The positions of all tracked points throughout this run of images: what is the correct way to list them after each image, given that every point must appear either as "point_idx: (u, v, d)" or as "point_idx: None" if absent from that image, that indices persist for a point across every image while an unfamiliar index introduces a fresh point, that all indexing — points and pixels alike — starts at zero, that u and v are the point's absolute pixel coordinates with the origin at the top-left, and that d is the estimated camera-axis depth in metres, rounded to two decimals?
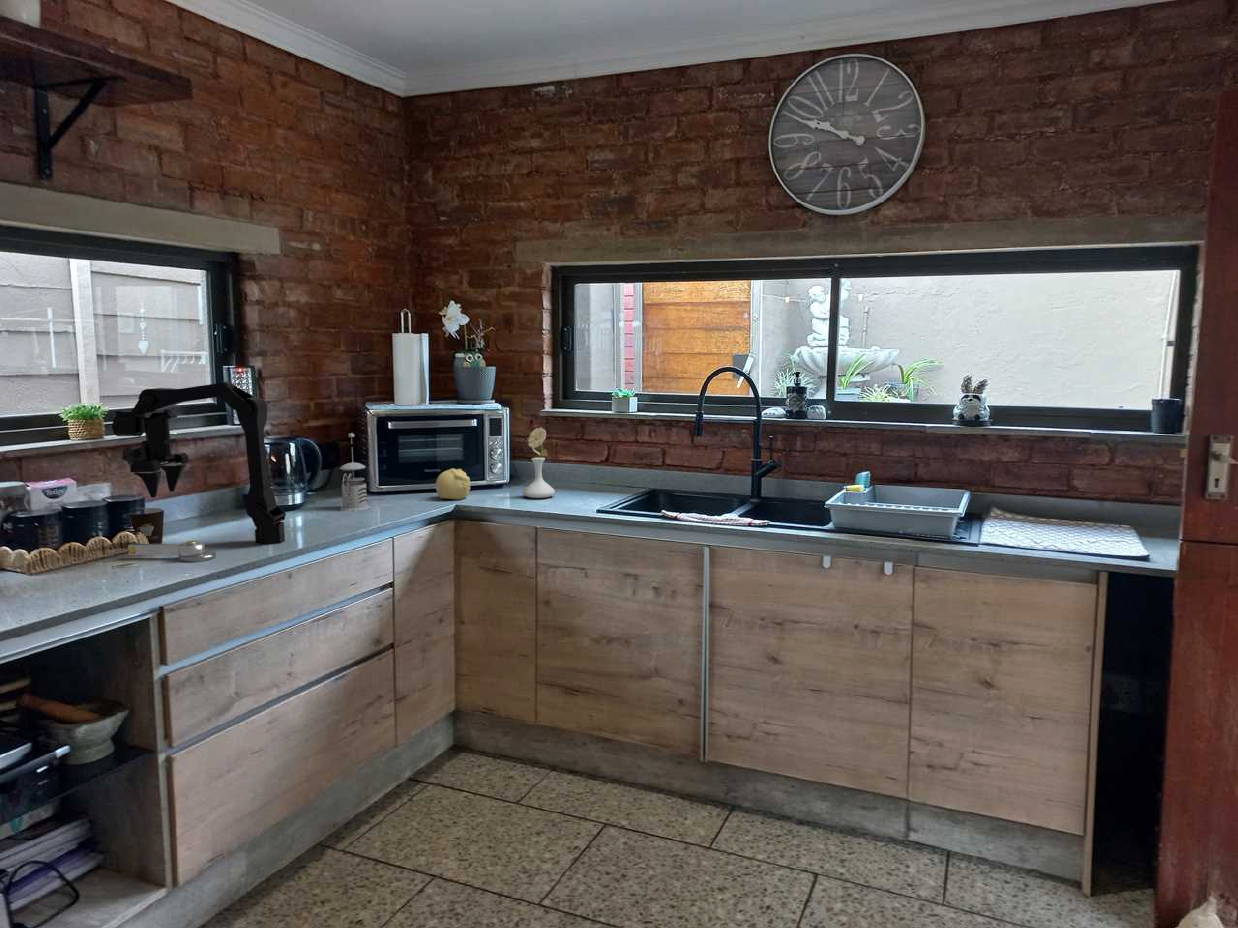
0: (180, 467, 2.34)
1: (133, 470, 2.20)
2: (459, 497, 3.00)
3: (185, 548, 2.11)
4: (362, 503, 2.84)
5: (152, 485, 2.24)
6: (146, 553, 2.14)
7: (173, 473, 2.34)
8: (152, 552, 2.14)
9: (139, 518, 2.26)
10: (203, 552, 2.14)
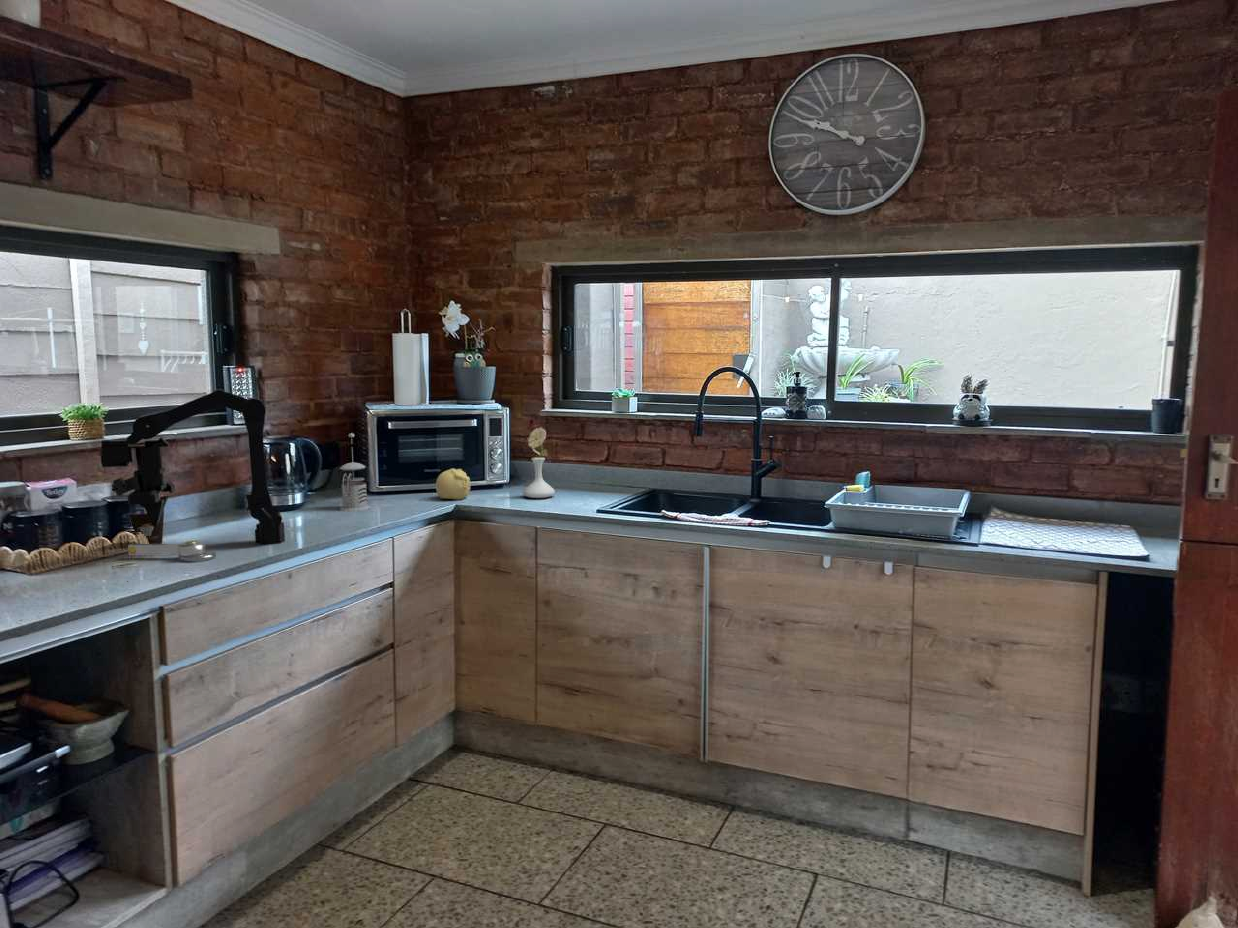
0: (164, 499, 2.21)
1: (132, 502, 2.10)
2: (459, 497, 3.00)
3: (185, 548, 2.11)
4: (362, 503, 2.84)
5: (155, 513, 2.19)
6: (146, 553, 2.14)
7: None
8: (152, 552, 2.14)
9: (139, 518, 2.26)
10: (203, 552, 2.14)
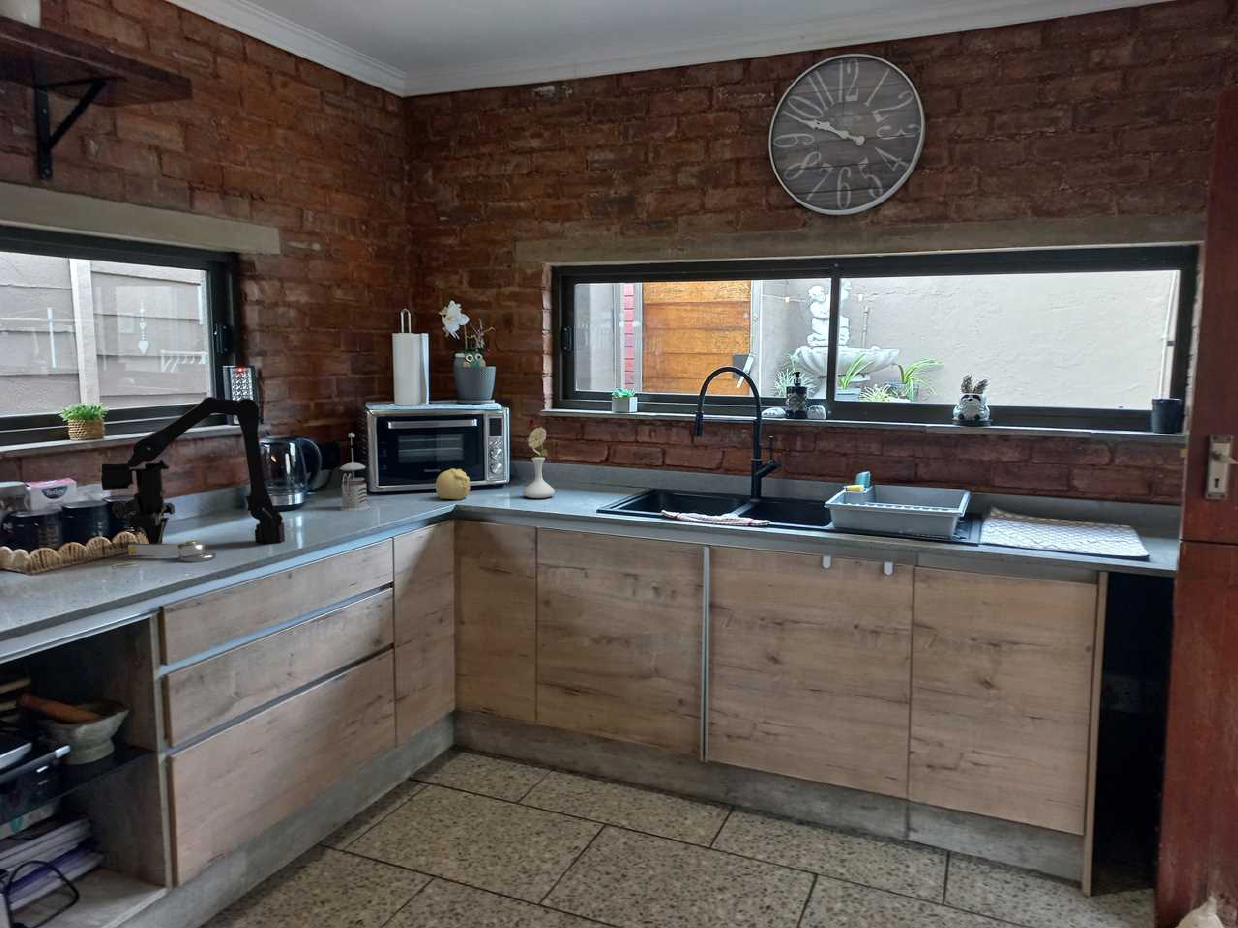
0: (164, 521, 2.20)
1: (132, 525, 2.09)
2: (459, 497, 3.00)
3: (185, 548, 2.11)
4: (362, 503, 2.84)
5: (155, 536, 2.18)
6: (146, 553, 2.14)
7: None
8: (152, 552, 2.14)
9: None
10: (203, 552, 2.14)
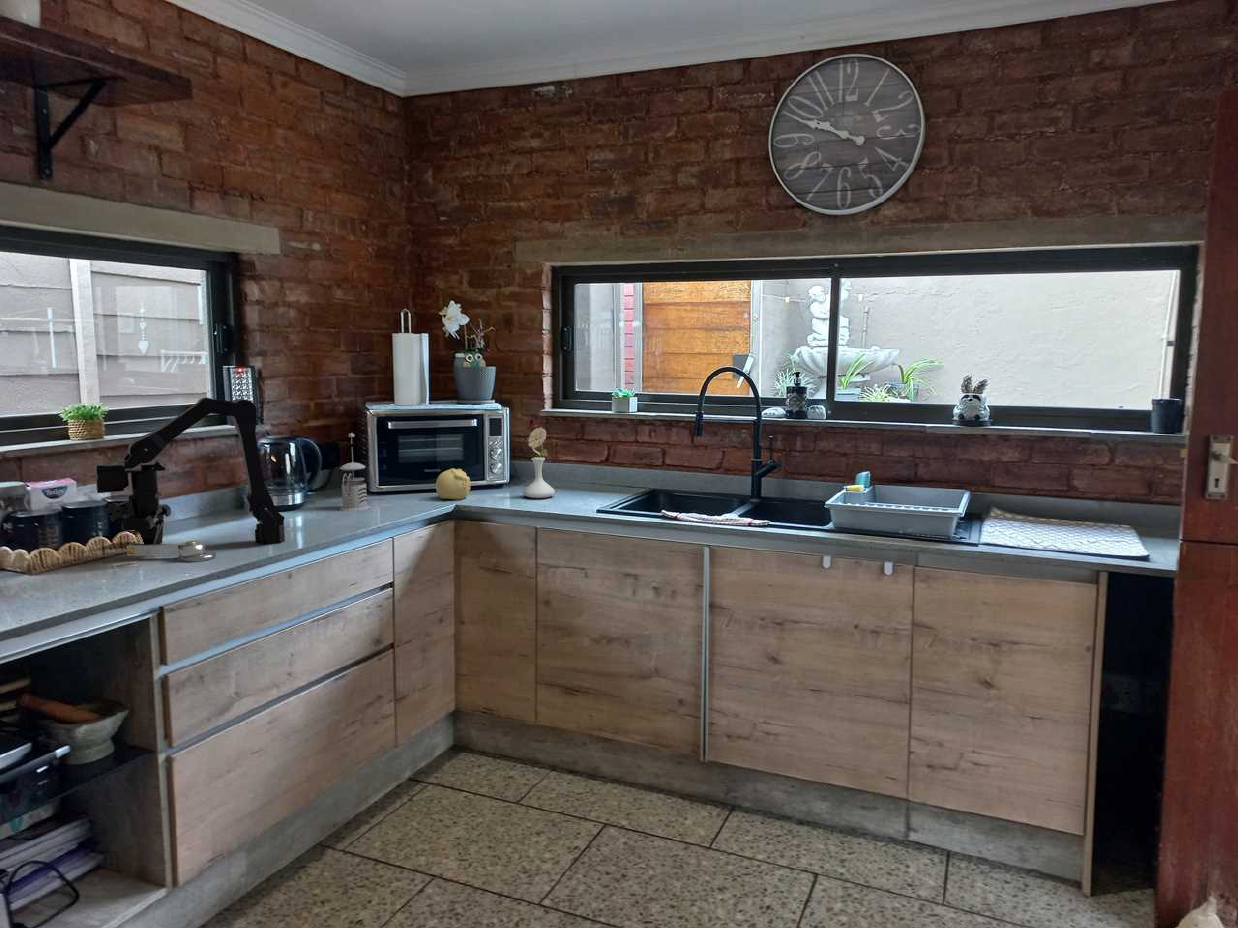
0: (160, 524, 2.17)
1: (126, 528, 2.06)
2: (459, 497, 3.00)
3: (186, 548, 2.11)
4: (362, 503, 2.84)
5: (150, 538, 2.15)
6: (145, 553, 2.14)
7: None
8: (151, 553, 2.14)
9: None
10: (203, 552, 2.15)
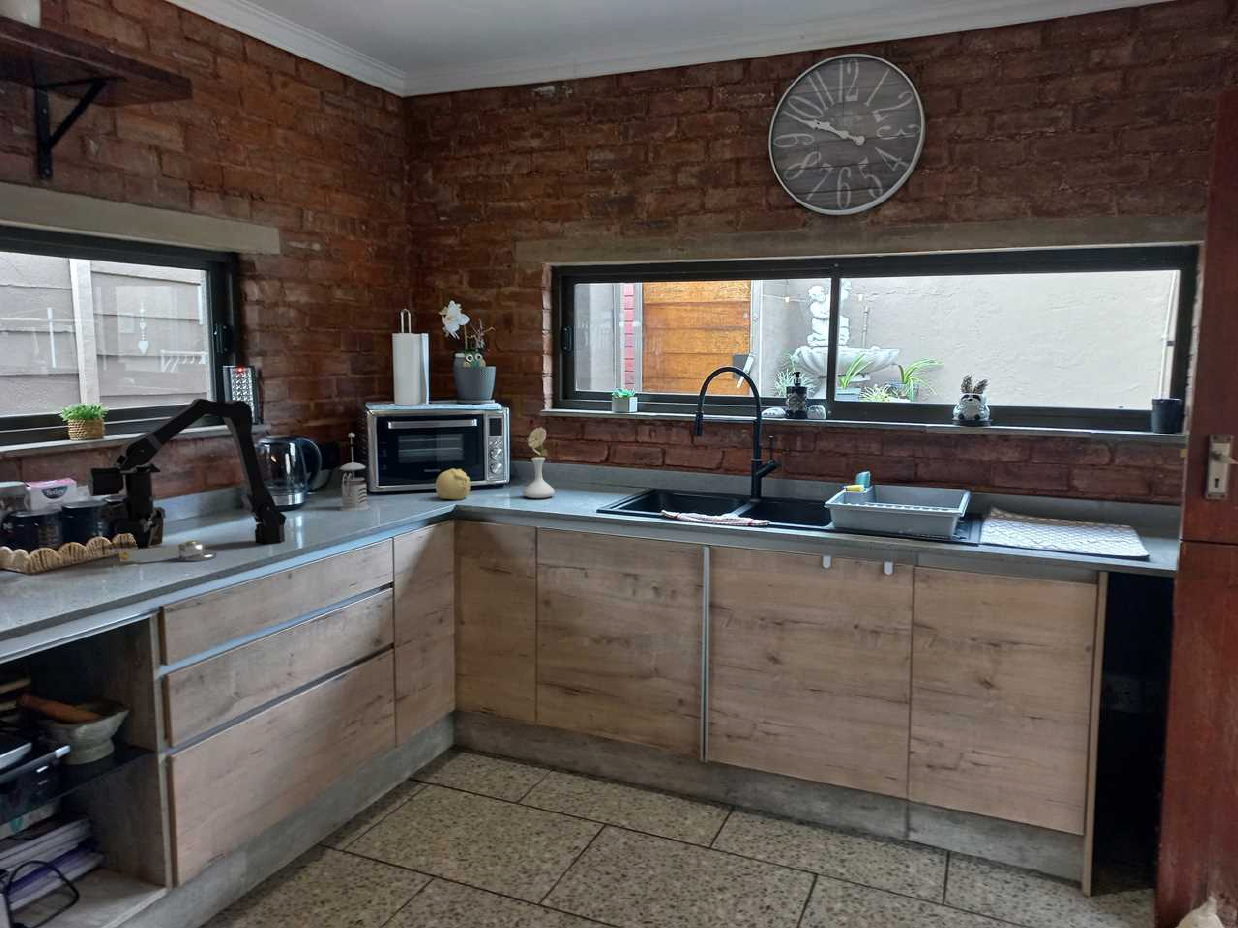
0: (154, 527, 2.12)
1: (119, 532, 2.02)
2: (459, 497, 3.00)
3: (191, 548, 2.12)
4: (362, 503, 2.84)
5: (144, 542, 2.11)
6: (141, 558, 2.10)
7: None
8: (148, 556, 2.10)
9: None
10: (205, 551, 2.16)
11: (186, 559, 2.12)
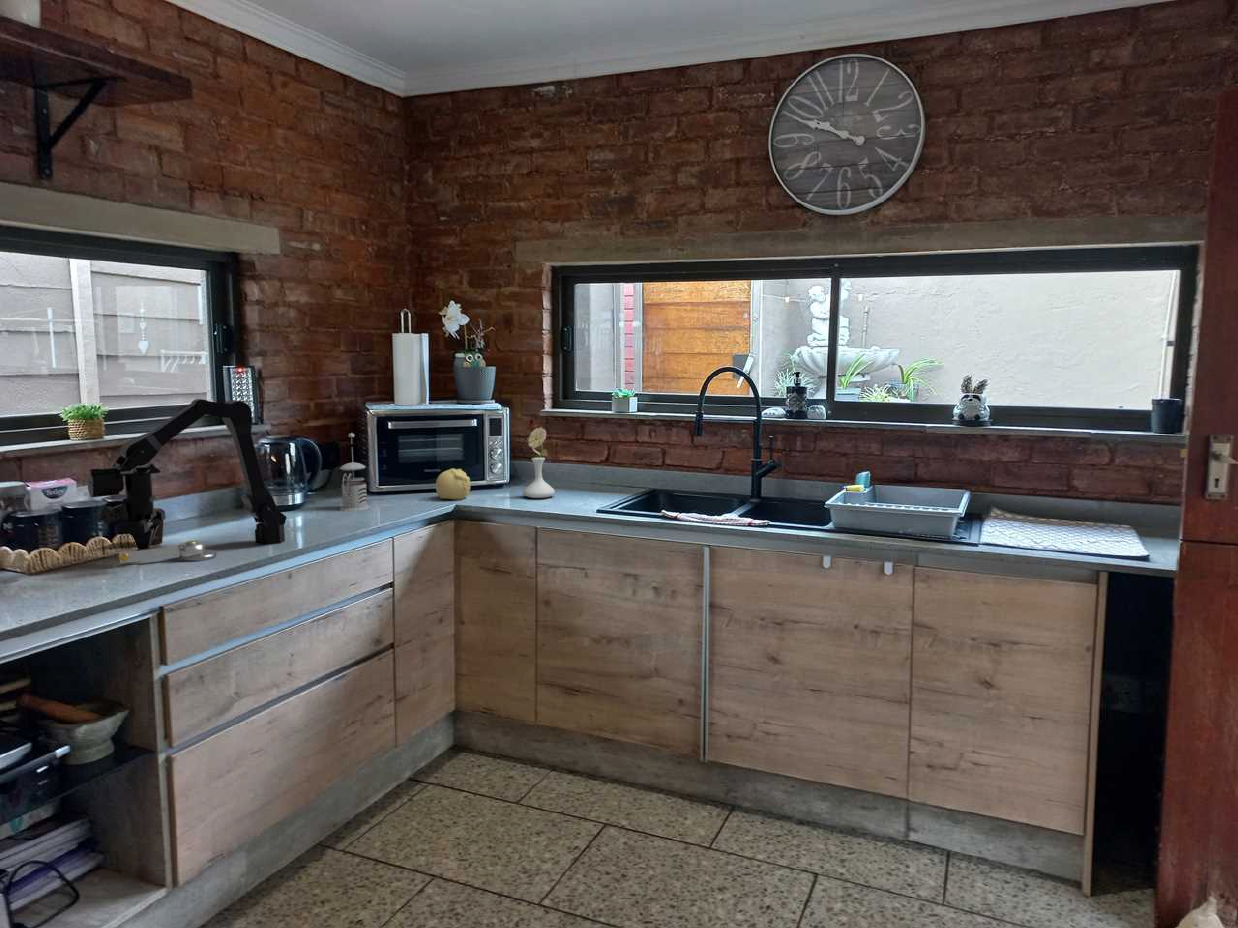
0: (154, 528, 2.12)
1: (120, 532, 2.01)
2: (459, 497, 3.00)
3: (192, 548, 2.12)
4: (362, 503, 2.84)
5: (144, 543, 2.10)
6: (141, 559, 2.08)
7: None
8: (148, 557, 2.09)
9: None
10: None
11: (188, 559, 2.12)
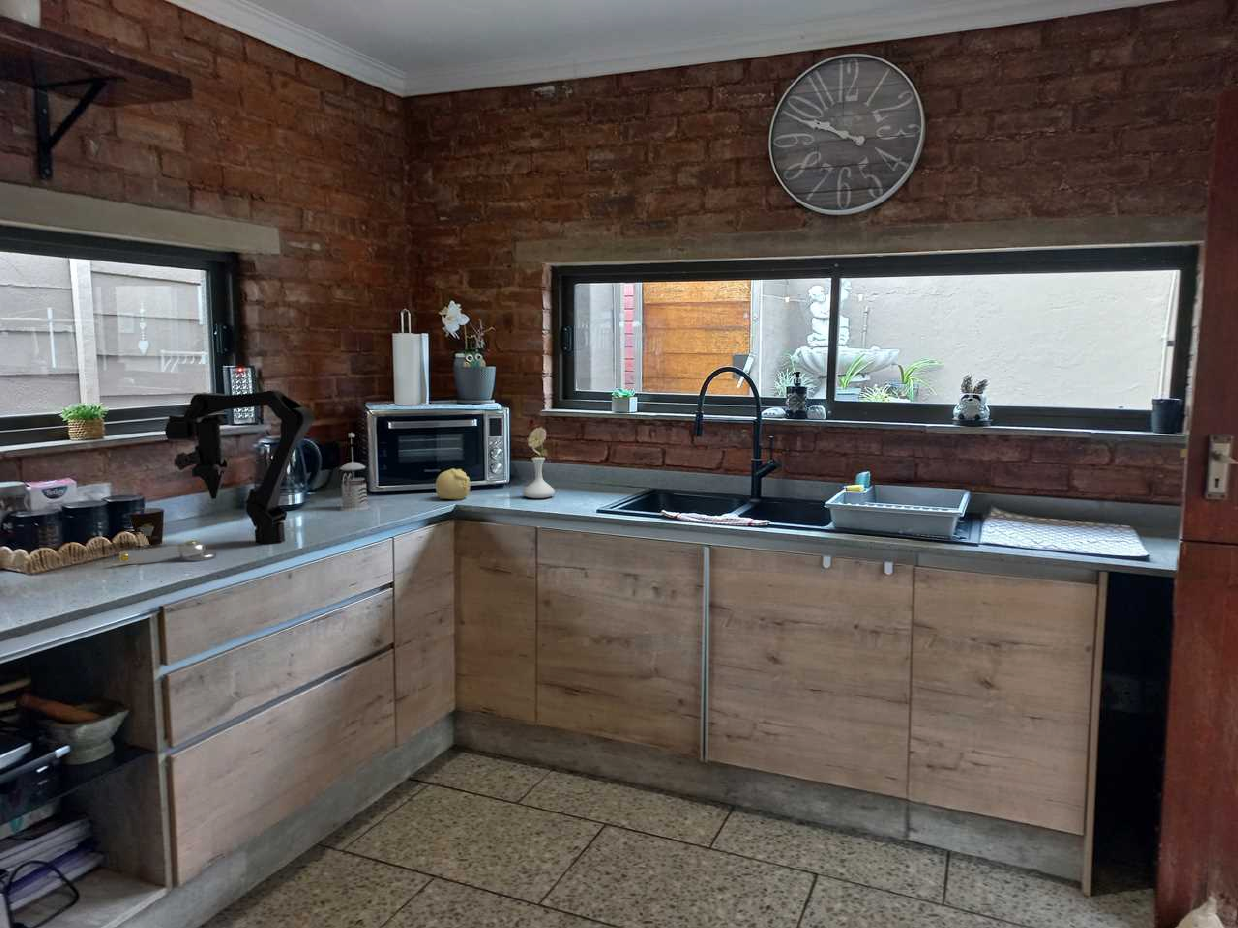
0: (222, 473, 2.32)
1: (197, 474, 2.21)
2: (459, 497, 3.00)
3: (192, 548, 2.12)
4: (362, 503, 2.84)
5: (214, 486, 2.30)
6: (141, 559, 2.08)
7: None
8: (148, 557, 2.09)
9: (139, 518, 2.26)
10: None
11: (188, 559, 2.12)
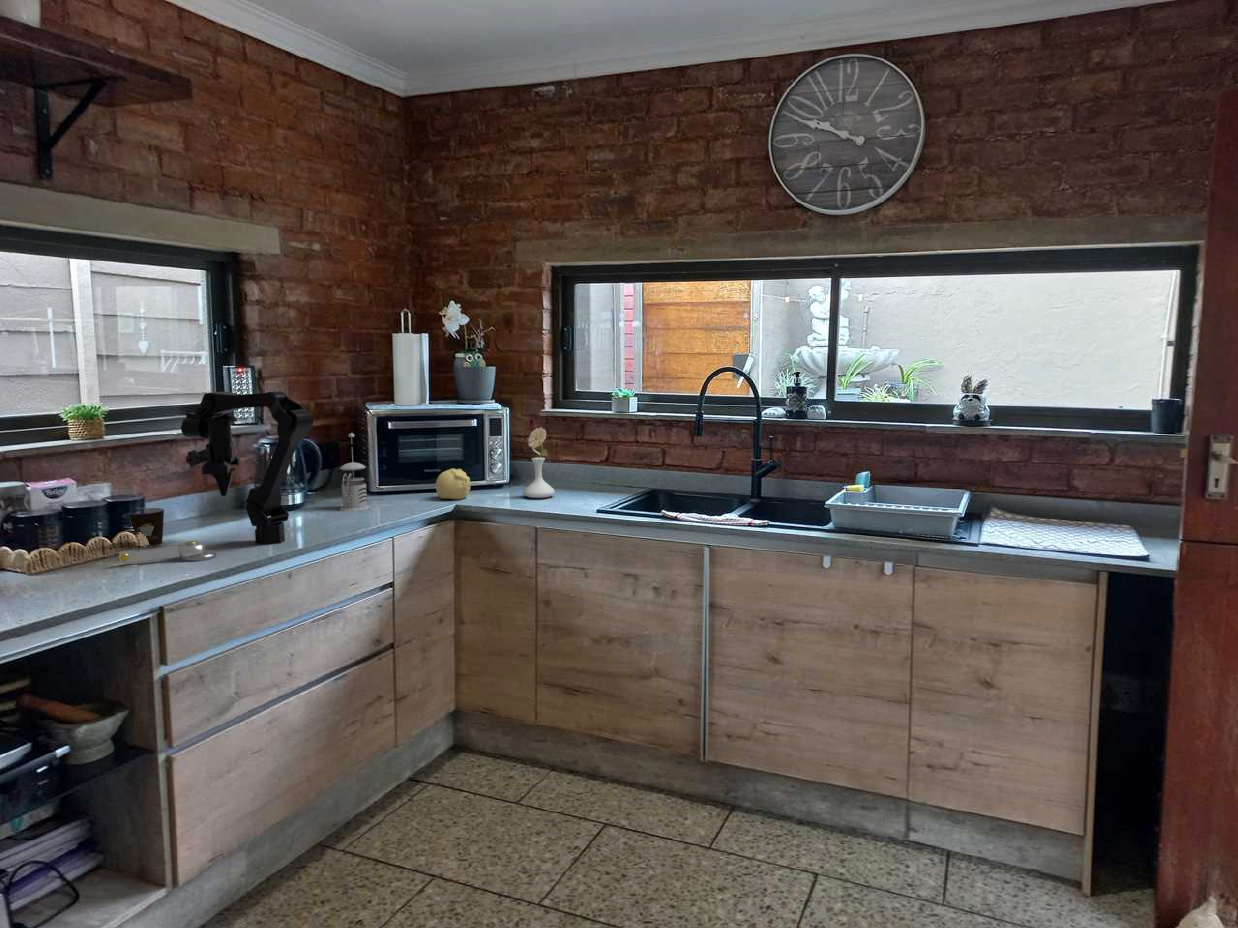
0: (233, 471, 2.35)
1: (206, 472, 2.25)
2: (459, 497, 3.00)
3: (192, 548, 2.12)
4: (362, 503, 2.84)
5: (224, 484, 2.33)
6: (141, 559, 2.08)
7: None
8: (148, 557, 2.09)
9: (139, 518, 2.26)
10: None
11: (188, 559, 2.12)
